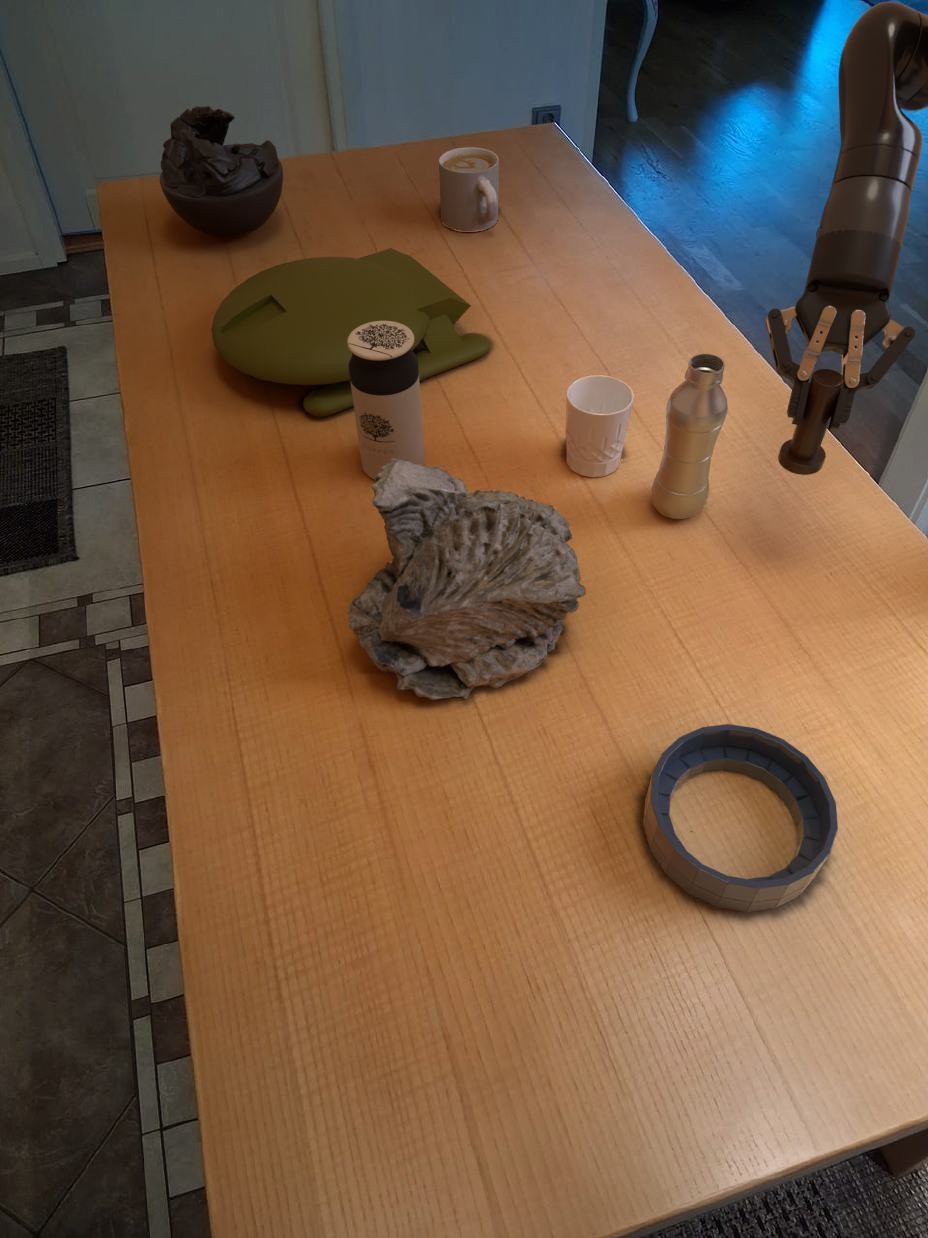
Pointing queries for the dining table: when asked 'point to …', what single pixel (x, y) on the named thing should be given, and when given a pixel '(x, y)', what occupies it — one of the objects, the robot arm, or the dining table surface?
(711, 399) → the plastic bottle
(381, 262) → the spaceship
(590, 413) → the white cup
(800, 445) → the dark brown peg stand
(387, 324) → the travel mug
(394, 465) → the rock
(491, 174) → the coffee mug
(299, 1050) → the dining table surface
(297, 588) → the dining table surface
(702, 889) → the faceted gray band ring
